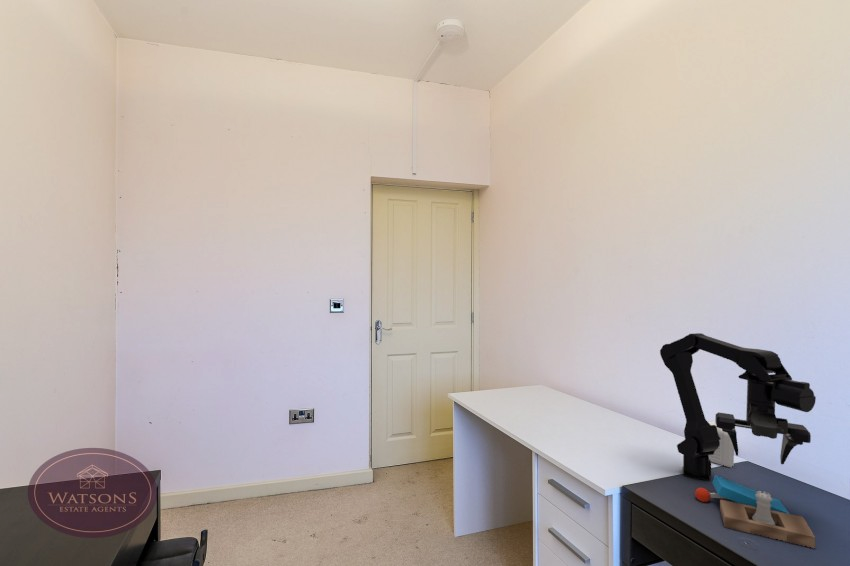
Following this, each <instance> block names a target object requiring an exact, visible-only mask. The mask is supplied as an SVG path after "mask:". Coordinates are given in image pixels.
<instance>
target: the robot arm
mask: <svg viewBox="0 0 850 566" xmlns="http://www.w3.org/2000/svg"><path fill="white" fill-rule="evenodd" d="M700 350H702V351H704V352H707V353H709V354H712V355H715V356H718V357H720V358H723V359H726V360H729V361H731V362H733V363H734V364H736V365H737V366H738V367H739V368H741V369H742V370H744V372H743V373H741V374H740V375H738V376H737V377H738V378H739V379H741V380H746V381H747V383H746V384H747V387H746V415H745V417H746V418H745V419H739V418H735V416H734V414H732V413H725V412H717V413H715V420H714V421H715V423H716V425H710V424H709V423H708V422H707V421H708V420H707V419H706V416H705V414H704V413H705V412H704V411H703V408H702V404H701V401H700V398H699V393H698V390H697V388H696V384H695V381H694V378H693V374H692V371H691V370H692V366H693V362H694V359H693V355H694V354H696V353H698V352H699V351H700ZM659 355H660V357H661V359H662V362H663V364H664V366H665V367H666V368H667V369H668V370H669V371H670V373H672V376H673V379H674V380H673V381H674V383H675V386H676V390H677V393H678V396H679V400H680V403H681V407H682V410H683V414H684V417H685V425H684V426H685V427H684V430H683V434H684V440H682V441H681V442H679V443H677V445H676V449H677V452H678V453H679V454H681V455H683V456H682V459H683V461H682V474H683V475H682V476H684V477H689V478H693V479H700V480H704V481H707V482H708V481H711V480H710V479H711V478H710V477H712V462H711V461H710V459H709V456H708V455H713V454H714V452H715V450H717V449H718V447H719V446H720V442H719V440H721V438H720V437H719V435H718V432H717V427H718V428H721V429H722V431H723V432H727V433H728V435H729V437H730V439H731V441H732V444H733V447H734V454H735V455H736V457H737V456H739V445H738V437H737V435H738V434H737V430H736V427H739V428H745V429H751V433H752V435H753V436H756V437H764V438H765V437H766V438H770V439H773V440H774V439H777V438H778V434H779V435H782V441H781V449H780V456H779V457H780V464H781V465H784V464H785V462H786V460H787V459H788V458H789V454H790V453H791V452H792V450H793V449H794V448H795V447H796V446H798V445H800V446H803V445H804V443H805V444H806V443H807V444H810V443H811V440H812V439H811V437H812V436H811V432H810V431H809V430H808V429H807V427H806V426H805V425H803V424H797V423H791V422H789V421H788V419H787V418H782V417H777V415H776V404H777V405H779V406H781V407H786V408H789V409H792V410H798V411H800V412H804V413H809V412H811V411H812V410H813V408H814V407H815V404H816V400H817V399H816V397H817V396H815V393H814V390H813V389H812V388H811V387H810V386H811V385H810V382H807V381H806V382H805V381H797V380H793V377H792V376H791V374H790V373H789V372H788V370H787V369H786V367H785V366H784V365H783V363H782V361H781V358H780V357H779V354H778V353H776V352H774V351H772V350H767V349H761V348H760V349H759V348H752V347H751V348H750V347H749V348H748V347H743V346H739V345H735V344H733V343H730V342H726V341H724V340H720V339H717V338H714V337H711V336H709V335H705V334H704V333H702V332H701V333H699V332H698V333H689V334H687V335H685V336H684V337H682V338H679V339H677V340H675V341H672V342H669V343H666V344H665V343H664V344H663V345H662V347H661V349H660V350H659ZM716 426H717V427H716Z"/></svg>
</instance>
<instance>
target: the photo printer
mask: <svg viewBox="0 0 850 566" xmlns="http://www.w3.org/2000/svg"><path fill="white" fill-rule="evenodd" d="M706 421H707V422H708V423H709V424H710V425H716V422H714V421H708V420H706ZM716 427H717V426H716ZM717 432H718V435H719V437H720V438H721V440H719V442H720V446H719V447H718V449H717V450H715V452H714V454H713V455H708V456H709V459H710V461H711V463H715V464H718V465H721V466H723V465H724V466H723V467H726V468H733V467H734V464H735V463H734V459H735V456H734V455H735V450H734V447H733V444H732V441H731V439H730V437H729V435H728V433H727V432H723V431H722V429H721V428H718V427H717ZM732 466H733V467H732Z"/></svg>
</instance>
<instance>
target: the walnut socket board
mask: <svg viewBox="0 0 850 566" xmlns="http://www.w3.org/2000/svg"><path fill="white" fill-rule="evenodd" d="M756 509H757V507H754V506H750V505H745V504H740V503H737V502H735V501H732V500H731V501H730V500H726V499H723V498H719V511H720V514H721V518H722V523H723V526H724V528H727V529H729V530H730V529H732V530H736V531H740V532H744V533H747V534H752V535H755V534H757V535H756V536H760V535H762V536H761V537H764V536H765V538H768V537H769V539H773V540H776V539H778V540H777V541H780V540H783V541H782V542H785V541H786V542H785V543H789V542H790V544H793V543H794V545H797V544H798V546H801V545H802V547H805V546H807V548H810V547H811V549H814V548H815V549H816V536H815V535H814V533H813V531H812V529H811V528H810V527H809V524H808V523H807V522H806V520H805V518H804V517H803V516H800V515H797V514H792V513H791V514H787V513H782V512H778V511H773V510H770V512H771V517H772V519H773V521H774V522H775V525H770V524H766V523H762V522H757V521H753V520H752V516H753V515H754V514H755V513H756Z"/></svg>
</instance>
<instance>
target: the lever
mask: <svg viewBox="0 0 850 566" xmlns="http://www.w3.org/2000/svg"><path fill="white" fill-rule="evenodd" d="M711 484H712V485H713V486H714V489H715V491H716V492H709V490H708V489H706V488H703V487H698V488H697V489H696V490H695V491H694V492H695V493H694V495H695V498H697V500H698V501H700V502H703V503H708V502H709V501H710V500H711V499H723V500H726V499H728V500H729V501H730V500H731V502H736V503H740V504H745V505H750V506H754V507H757V503H756V501H757V498H756V497H755V494H757V491H758V490H754V489H752V488H749V487H747V486H744V485H741V484H740V483H736V482H735V481H732V480H729V479H728V478H725V477H721V476H720V475H718V474H715V475H714V478H713V480H712V483H711ZM771 498H772V499H773V500H772V501H771V502H770V504H771V507H770V510H773V511H778V512H782V513H787V514H790V512H789V511H788V509H787V508H786V507H785V506H784V505H783V503H782V502H781V500H779V499H776V498H774V497H772V496H771Z"/></svg>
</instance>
